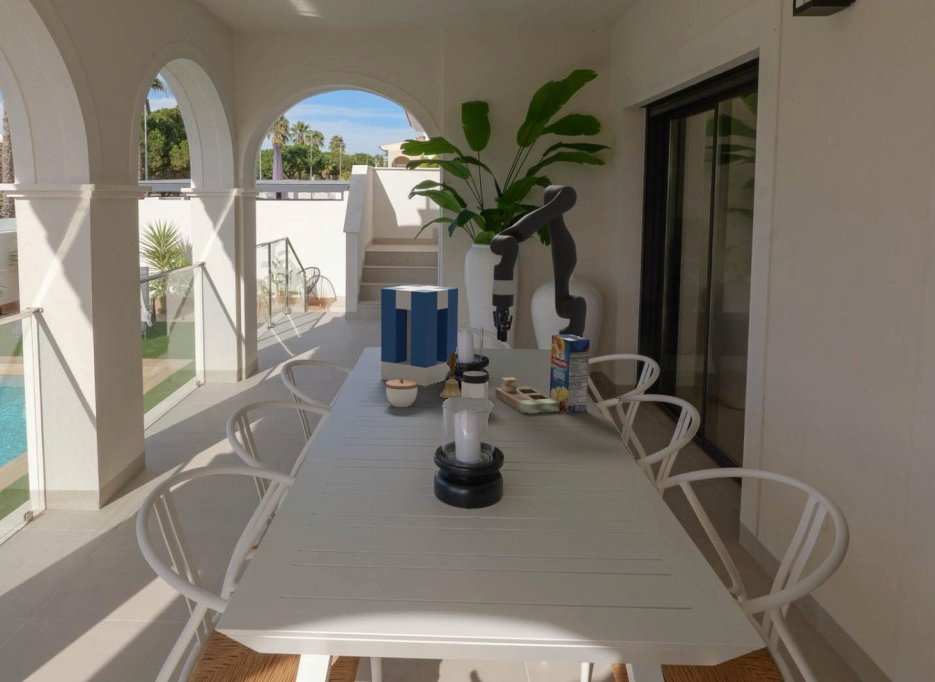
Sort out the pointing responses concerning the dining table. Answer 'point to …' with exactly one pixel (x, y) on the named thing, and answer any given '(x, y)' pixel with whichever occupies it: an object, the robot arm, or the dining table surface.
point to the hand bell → (451, 381)
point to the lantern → (418, 332)
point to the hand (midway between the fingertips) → (501, 340)
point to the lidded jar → (401, 392)
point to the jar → (475, 384)
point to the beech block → (509, 384)
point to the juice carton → (569, 372)
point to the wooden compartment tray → (528, 400)
